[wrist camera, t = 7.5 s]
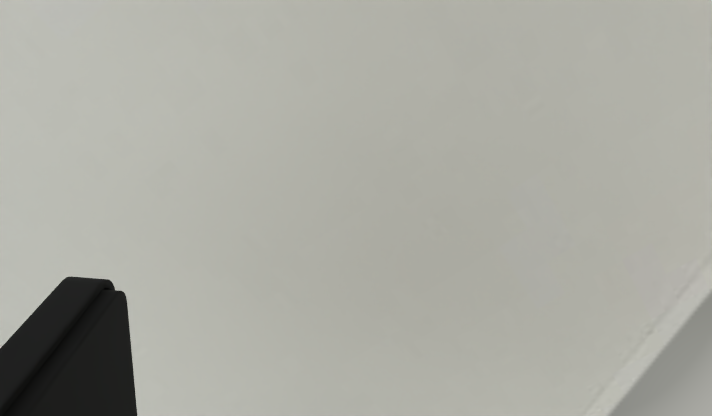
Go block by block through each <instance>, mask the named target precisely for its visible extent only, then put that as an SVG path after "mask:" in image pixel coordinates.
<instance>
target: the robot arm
mask: <svg viewBox="0 0 712 416" xmlns="http://www.w3.org/2000/svg"><path fill="white" fill-rule="evenodd" d="M0 416H137V409H136V398H135V387H134V376H133V364H132V353H131V342H130V331H129V320H128V309H127V300H126V296H125V293H124V292H122V291H115V288H114V286H113V283H112V282H111V281H110V280H106V279H93V278H81V277H67V278H65V279H64V280H63V281H62V282H61V283H60V284H59V285H58V286H57V287H56V288H55V289H54V291H53V292H52V293H51V294H50V295H49V296H48V297H47V298H46V299H45V300H44V301H43V303H42V304H41V305H40V306H39V307H38V308H37V309H36V310H35V311H34V312H33V314H32V315H31V316H30V317H29V318H28V319H27V320H26V321H25V322H24V323H23V324H22V326H21V327H20V328H19V329H18V330H17V331H16V332H15V333H14V334H13V335H12V336H11V338H10V339H9V340H8V341H7V342H6V343H5V344H4V345H3V346H2V347H1V348H0Z"/></svg>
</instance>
